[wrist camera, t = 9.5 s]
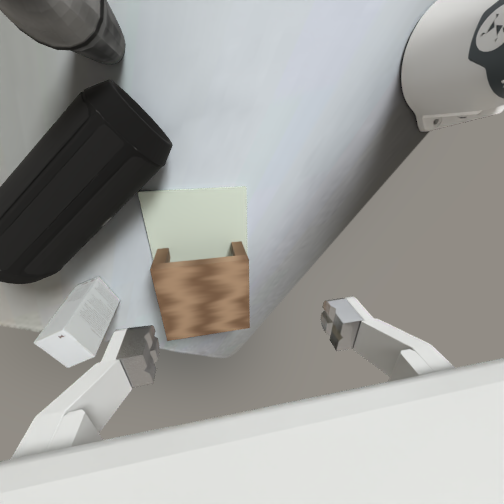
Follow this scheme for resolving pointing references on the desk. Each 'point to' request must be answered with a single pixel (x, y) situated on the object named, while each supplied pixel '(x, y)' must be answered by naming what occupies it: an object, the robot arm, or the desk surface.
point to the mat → (195, 221)
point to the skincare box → (79, 323)
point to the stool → (202, 293)
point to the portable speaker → (76, 181)
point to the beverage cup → (70, 26)
